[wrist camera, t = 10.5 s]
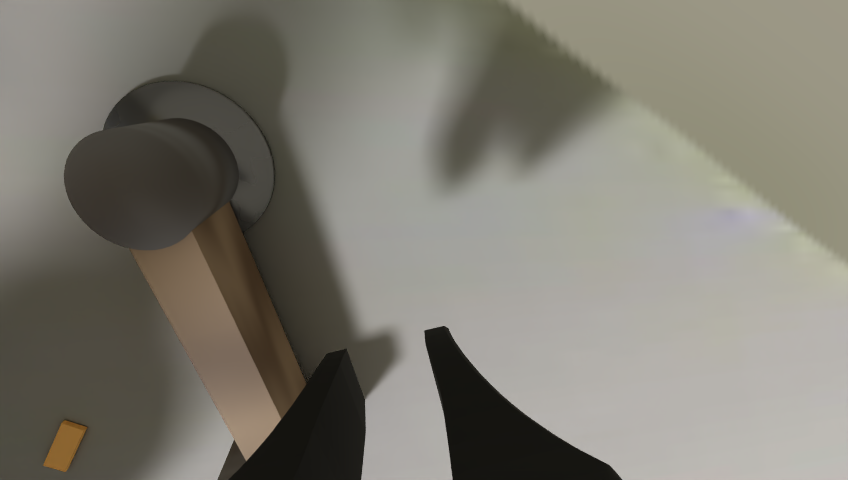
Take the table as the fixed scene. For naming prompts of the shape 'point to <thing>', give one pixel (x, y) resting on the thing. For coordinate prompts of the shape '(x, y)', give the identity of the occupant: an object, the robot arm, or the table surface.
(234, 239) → the crank
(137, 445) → the table surface
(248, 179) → the crank base
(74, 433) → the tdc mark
